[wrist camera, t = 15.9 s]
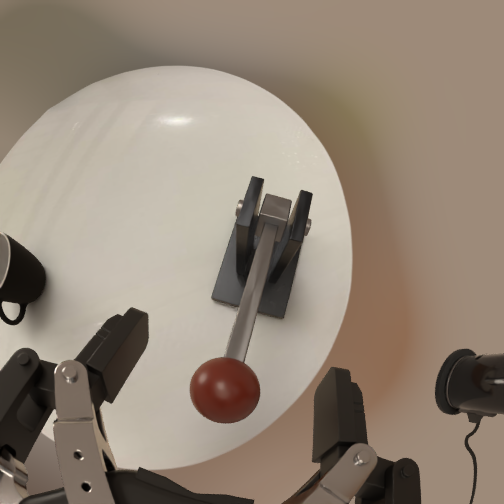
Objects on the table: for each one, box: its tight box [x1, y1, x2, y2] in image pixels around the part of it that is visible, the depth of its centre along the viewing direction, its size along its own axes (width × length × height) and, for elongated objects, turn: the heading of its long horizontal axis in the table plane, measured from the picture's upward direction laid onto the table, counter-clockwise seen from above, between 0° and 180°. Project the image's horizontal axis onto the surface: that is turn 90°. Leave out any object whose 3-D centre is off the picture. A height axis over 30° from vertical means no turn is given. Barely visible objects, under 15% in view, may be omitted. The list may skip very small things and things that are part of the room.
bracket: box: [211, 176, 313, 319], centre depth 28 cm, size 12×9×16 cm
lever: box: [190, 194, 292, 424], centre depth 17 cm, size 17×4×4 cm, turn 164°
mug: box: [0, 232, 45, 325], centre depth 27 cm, size 12×9×10 cm
